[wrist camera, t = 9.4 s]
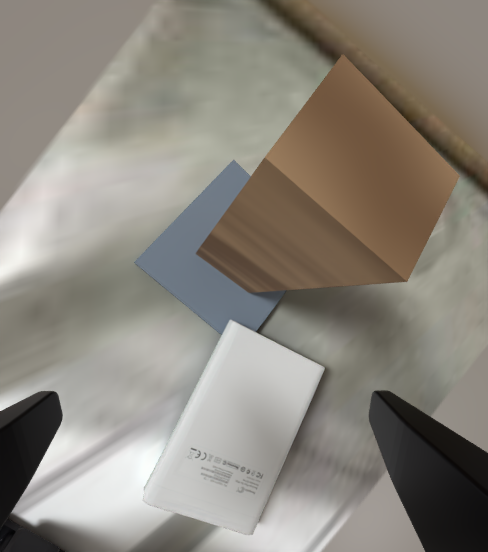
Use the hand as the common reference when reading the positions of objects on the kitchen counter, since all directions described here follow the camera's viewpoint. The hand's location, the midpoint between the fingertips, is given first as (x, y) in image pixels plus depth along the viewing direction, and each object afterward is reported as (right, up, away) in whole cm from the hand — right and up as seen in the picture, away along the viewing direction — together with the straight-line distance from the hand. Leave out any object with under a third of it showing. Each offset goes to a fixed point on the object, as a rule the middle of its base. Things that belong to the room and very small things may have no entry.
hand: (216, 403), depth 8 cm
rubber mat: (0, +5, +13) cm, 14 cm away
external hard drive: (0, -7, +12) cm, 14 cm away
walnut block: (0, +5, +13) cm, 14 cm away
